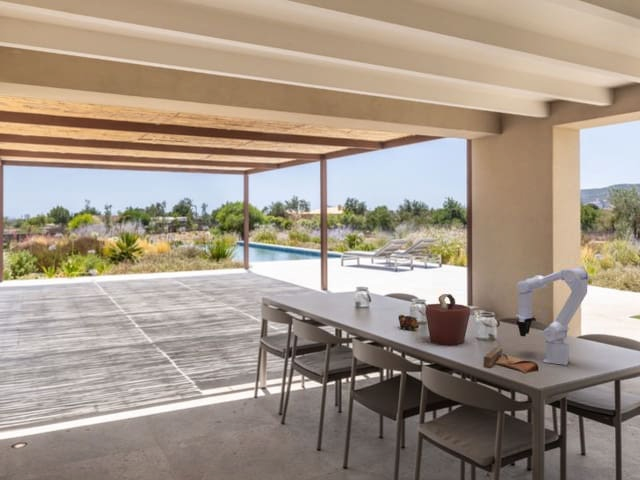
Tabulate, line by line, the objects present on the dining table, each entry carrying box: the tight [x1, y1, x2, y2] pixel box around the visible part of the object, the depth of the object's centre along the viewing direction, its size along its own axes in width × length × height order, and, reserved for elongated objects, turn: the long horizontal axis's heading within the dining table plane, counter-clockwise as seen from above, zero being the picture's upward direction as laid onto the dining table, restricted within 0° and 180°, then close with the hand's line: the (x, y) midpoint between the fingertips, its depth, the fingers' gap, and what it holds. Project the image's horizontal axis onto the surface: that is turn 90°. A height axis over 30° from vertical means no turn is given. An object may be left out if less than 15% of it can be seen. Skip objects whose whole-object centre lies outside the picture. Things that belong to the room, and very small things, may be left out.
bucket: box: [425, 293, 471, 347], centre depth 269 cm, size 24×22×25 cm
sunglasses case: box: [494, 353, 539, 374], centre depth 223 cm, size 18×7×7 cm, turn 33°
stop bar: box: [483, 346, 503, 369], centre depth 230 cm, size 3×20×4 cm, turn 148°
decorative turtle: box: [398, 314, 420, 331], centre depth 302 cm, size 10×15×8 cm, turn 41°
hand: (524, 334), depth 244 cm, fingers open, 7 cm apart
